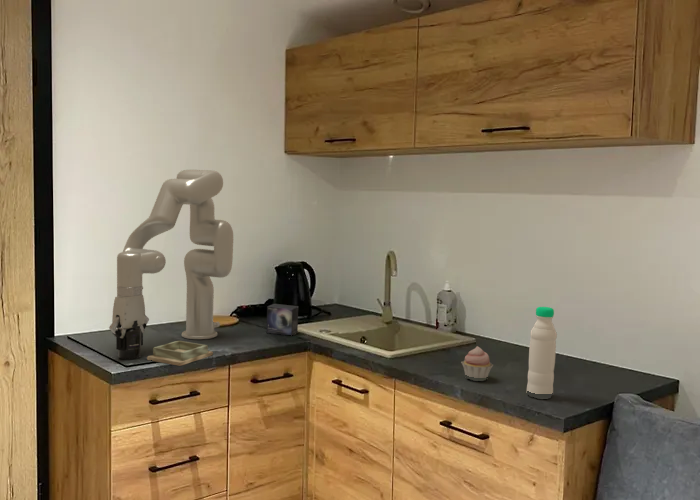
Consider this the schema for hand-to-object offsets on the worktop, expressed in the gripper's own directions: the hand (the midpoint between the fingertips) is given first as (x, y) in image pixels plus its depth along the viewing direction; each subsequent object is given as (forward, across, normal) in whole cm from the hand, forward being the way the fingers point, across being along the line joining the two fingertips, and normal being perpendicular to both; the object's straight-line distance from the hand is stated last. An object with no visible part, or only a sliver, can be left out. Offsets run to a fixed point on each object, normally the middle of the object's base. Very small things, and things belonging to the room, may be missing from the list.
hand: (129, 347), depth 214 cm
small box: (+4, -57, +21) cm, 61 cm away
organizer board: (+3, -9, +13) cm, 16 cm away
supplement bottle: (+3, 0, 0) cm, 3 cm away
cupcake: (+4, -38, +101) cm, 108 cm away
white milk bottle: (+4, -31, +121) cm, 125 cm away
